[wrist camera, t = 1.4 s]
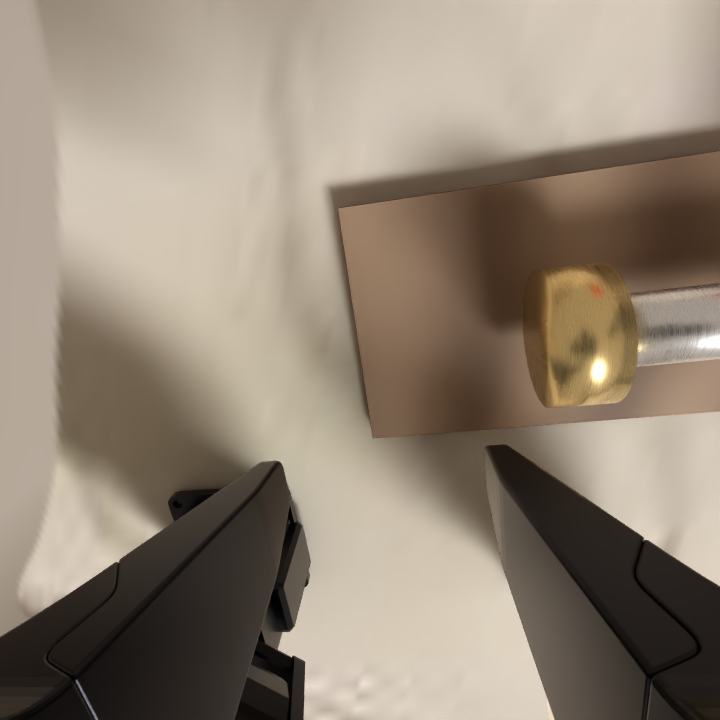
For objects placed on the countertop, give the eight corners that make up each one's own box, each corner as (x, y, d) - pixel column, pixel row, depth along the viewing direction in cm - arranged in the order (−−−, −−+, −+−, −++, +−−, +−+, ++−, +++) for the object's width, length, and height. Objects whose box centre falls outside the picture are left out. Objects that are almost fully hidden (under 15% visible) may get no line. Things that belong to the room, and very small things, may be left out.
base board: (374, 427, 21) (372, 438, 20) (341, 207, 18) (338, 208, 17) (906, 384, 18) (933, 394, 17) (988, 110, 15) (1028, 104, 14)
